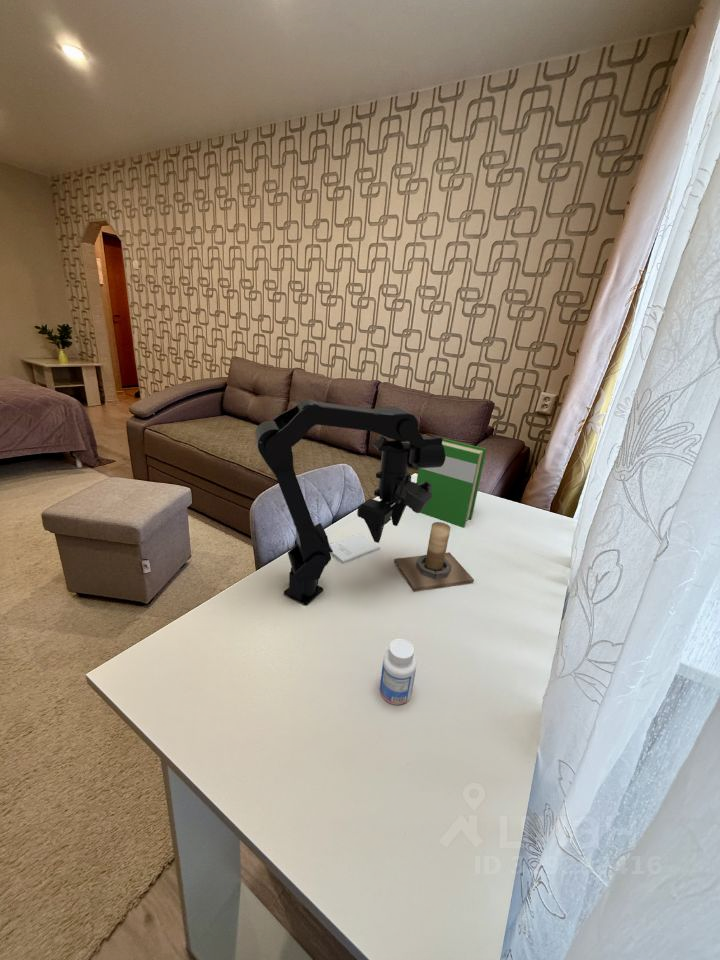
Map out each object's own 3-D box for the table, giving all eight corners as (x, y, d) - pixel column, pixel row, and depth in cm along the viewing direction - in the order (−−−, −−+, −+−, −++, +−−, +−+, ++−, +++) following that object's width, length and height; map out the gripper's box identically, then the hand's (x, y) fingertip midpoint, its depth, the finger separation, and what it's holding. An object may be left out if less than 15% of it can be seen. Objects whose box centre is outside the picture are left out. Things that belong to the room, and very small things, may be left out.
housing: (413, 591, 91) (414, 582, 90) (394, 562, 101) (395, 553, 100) (473, 583, 96) (475, 574, 95) (448, 555, 106) (450, 547, 105)
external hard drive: (379, 551, 106) (342, 566, 99) (360, 537, 112) (324, 550, 104) (379, 546, 106) (342, 560, 98) (360, 532, 111) (324, 545, 104)
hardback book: (471, 519, 127) (486, 448, 118) (463, 528, 121) (478, 454, 112) (421, 502, 136) (432, 435, 126) (412, 510, 130) (422, 440, 120)
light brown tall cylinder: (438, 576, 95) (446, 533, 91) (421, 569, 97) (429, 527, 93) (444, 567, 99) (452, 525, 94) (428, 561, 101) (435, 520, 96)
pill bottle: (391, 672, 70) (398, 629, 66) (417, 690, 67) (425, 646, 63) (372, 692, 66) (378, 647, 62) (399, 712, 63) (407, 667, 59)
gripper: (411, 493, 71) (401, 565, 77) (445, 466, 86) (434, 528, 92) (358, 478, 76) (353, 546, 82) (399, 454, 91) (392, 514, 97)
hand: (386, 533), depth 88 cm, fingers open, 9 cm apart
